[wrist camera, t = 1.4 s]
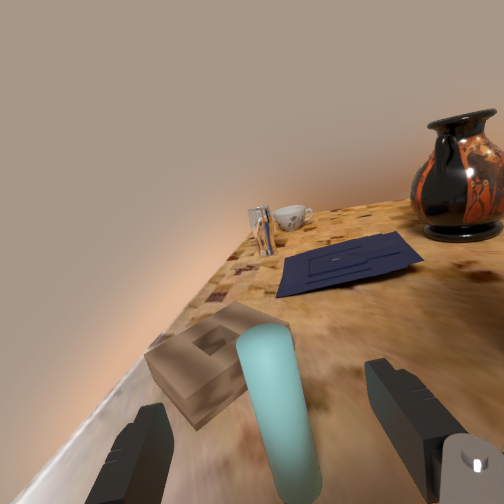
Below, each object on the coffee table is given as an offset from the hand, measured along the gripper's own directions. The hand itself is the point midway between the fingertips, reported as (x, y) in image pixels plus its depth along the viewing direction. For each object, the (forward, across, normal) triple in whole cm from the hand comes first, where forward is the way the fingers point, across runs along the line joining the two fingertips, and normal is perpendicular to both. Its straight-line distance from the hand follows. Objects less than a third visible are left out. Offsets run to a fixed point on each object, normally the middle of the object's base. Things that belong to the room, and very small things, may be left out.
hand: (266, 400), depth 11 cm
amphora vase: (+62, -53, +15) cm, 83 cm away
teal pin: (+12, 0, +20) cm, 23 cm away
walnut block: (+31, +8, +19) cm, 37 cm away
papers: (+57, -21, +16) cm, 63 cm away
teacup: (+103, -18, +13) cm, 105 cm away
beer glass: (+79, -5, +15) cm, 81 cm away
